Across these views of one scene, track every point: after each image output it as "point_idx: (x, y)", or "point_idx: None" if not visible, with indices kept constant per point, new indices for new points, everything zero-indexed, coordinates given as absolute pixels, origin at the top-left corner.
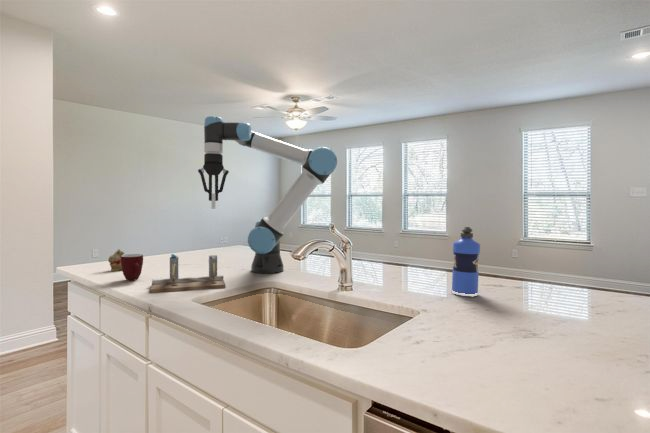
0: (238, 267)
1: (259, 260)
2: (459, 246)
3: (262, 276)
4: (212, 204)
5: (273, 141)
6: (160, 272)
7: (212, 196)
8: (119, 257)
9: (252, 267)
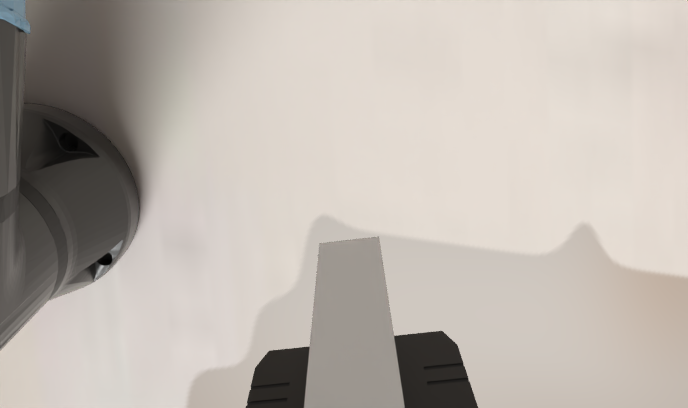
0: (220, 300)
1: (51, 163)
2: None
3: (56, 29)
4: (371, 270)
5: None
6: (631, 227)
7: (382, 373)
8: None
9: (119, 175)
